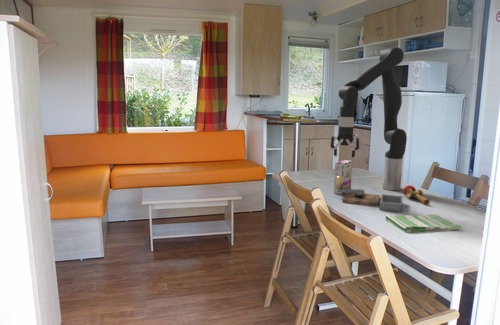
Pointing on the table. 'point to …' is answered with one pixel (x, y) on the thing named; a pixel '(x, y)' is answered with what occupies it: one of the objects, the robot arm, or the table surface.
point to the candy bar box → (343, 170)
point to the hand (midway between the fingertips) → (344, 156)
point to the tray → (391, 203)
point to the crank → (339, 186)
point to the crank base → (362, 199)
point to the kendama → (415, 194)
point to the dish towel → (421, 223)
